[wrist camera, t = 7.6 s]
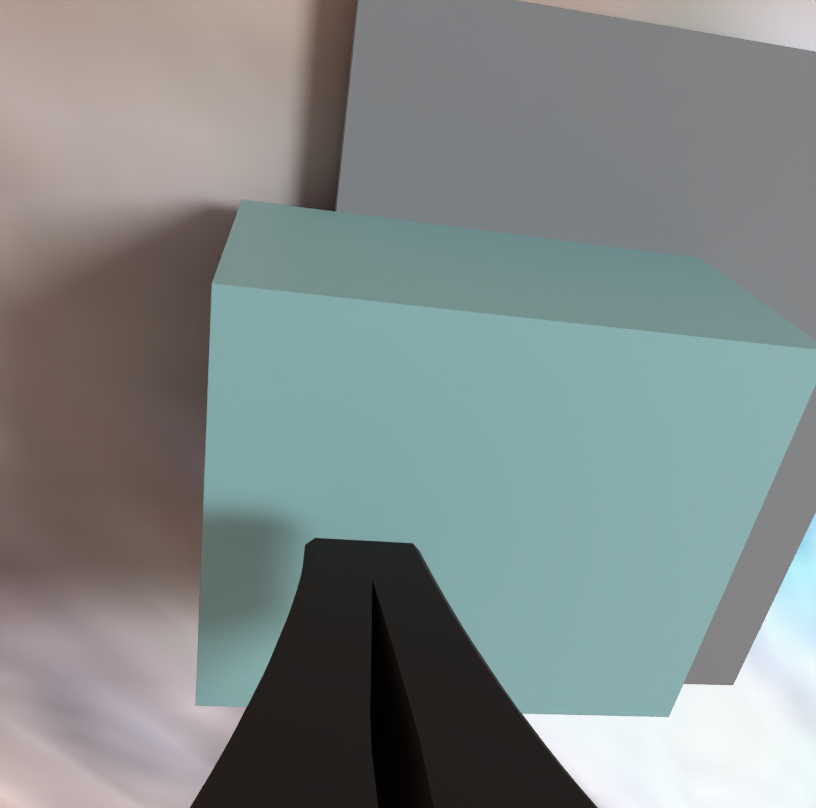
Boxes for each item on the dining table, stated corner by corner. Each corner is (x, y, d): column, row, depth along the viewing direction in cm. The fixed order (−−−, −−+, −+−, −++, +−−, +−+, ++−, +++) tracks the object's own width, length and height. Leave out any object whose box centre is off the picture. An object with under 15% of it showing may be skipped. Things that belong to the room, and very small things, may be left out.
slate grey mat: (288, 653, 18) (287, 673, 18) (359, -26, 12) (361, -27, 11) (721, 666, 20) (733, 685, 19) (991, 83, 13) (1018, 86, 13)
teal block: (196, 705, 12) (668, 716, 13) (212, 284, 9) (831, 351, 10) (223, 544, 16) (596, 565, 17) (242, 199, 12) (700, 258, 14)
